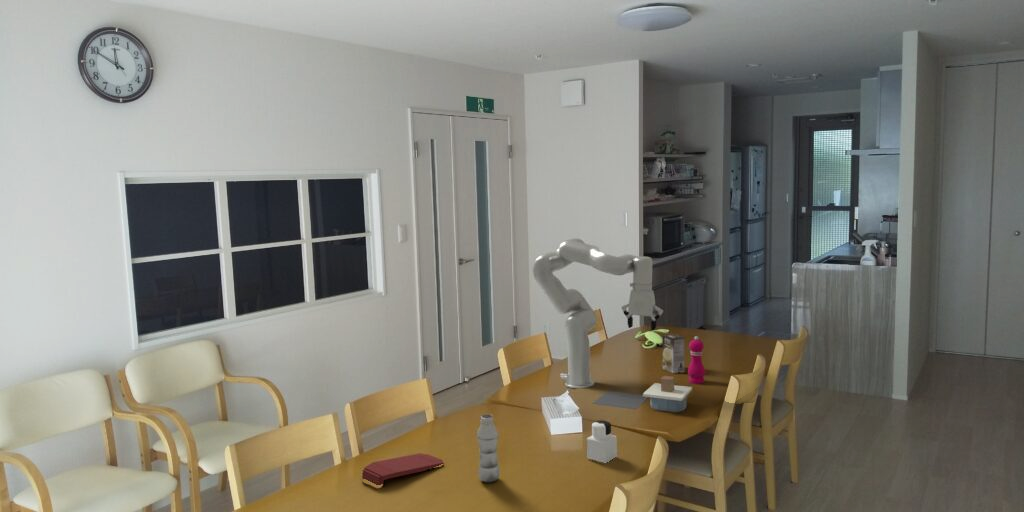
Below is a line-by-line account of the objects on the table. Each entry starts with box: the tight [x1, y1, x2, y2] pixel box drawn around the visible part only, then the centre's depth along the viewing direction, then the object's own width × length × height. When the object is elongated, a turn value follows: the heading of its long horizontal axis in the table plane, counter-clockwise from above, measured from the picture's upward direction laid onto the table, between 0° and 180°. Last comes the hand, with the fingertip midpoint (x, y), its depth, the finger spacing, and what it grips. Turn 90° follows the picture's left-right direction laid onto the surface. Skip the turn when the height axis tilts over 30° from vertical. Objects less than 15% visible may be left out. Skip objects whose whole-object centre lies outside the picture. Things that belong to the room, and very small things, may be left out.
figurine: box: [634, 328, 670, 350], centre depth 381 cm, size 18×27×6 cm
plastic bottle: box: [476, 413, 501, 483], centre depth 216 cm, size 6×7×20 cm
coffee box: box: [661, 333, 685, 374], centre depth 327 cm, size 9×6×16 cm
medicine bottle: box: [586, 419, 618, 464], centre depth 230 cm, size 7×7×12 cm
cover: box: [642, 375, 693, 401], centre depth 277 cm, size 15×15×6 cm
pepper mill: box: [687, 335, 706, 385], centre depth 308 cm, size 7×7×20 cm
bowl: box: [649, 396, 687, 413], centre depth 278 cm, size 13×13×6 cm
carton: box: [361, 453, 445, 485], centre depth 226 cm, size 12×5×25 cm
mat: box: [591, 390, 649, 410], centre depth 287 cm, size 18×18×1 cm
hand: (641, 328), depth 293 cm, fingers open, 9 cm apart
